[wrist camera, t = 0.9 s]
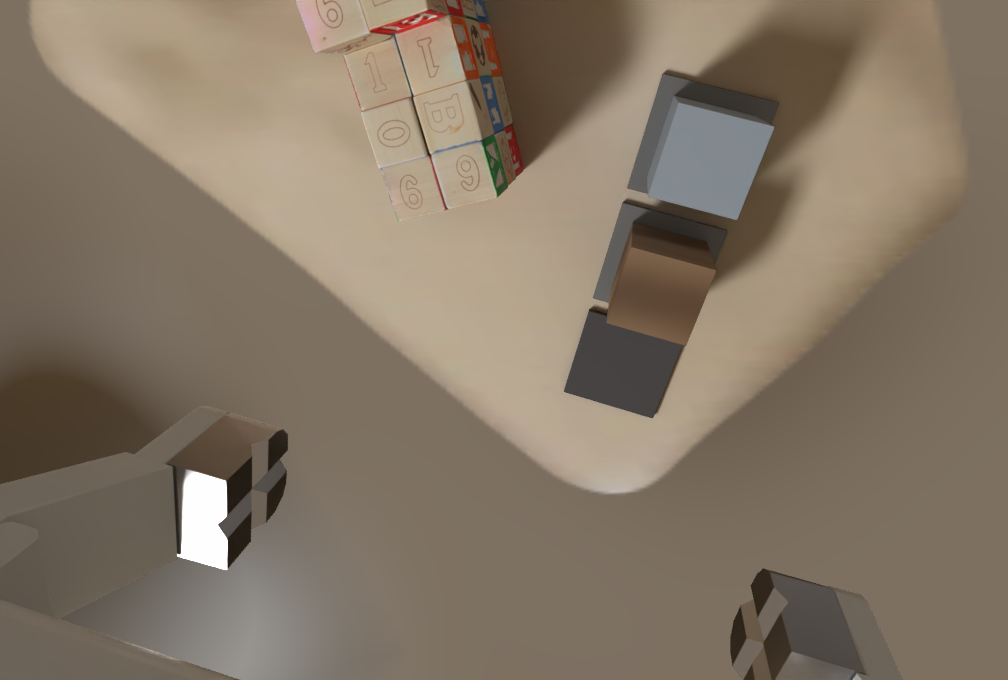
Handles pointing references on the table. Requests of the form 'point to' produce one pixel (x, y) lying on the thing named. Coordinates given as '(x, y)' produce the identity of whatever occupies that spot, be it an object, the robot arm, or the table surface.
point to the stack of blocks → (424, 96)
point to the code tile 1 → (656, 220)
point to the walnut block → (660, 283)
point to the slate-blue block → (707, 157)
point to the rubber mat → (621, 366)
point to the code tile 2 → (696, 93)
